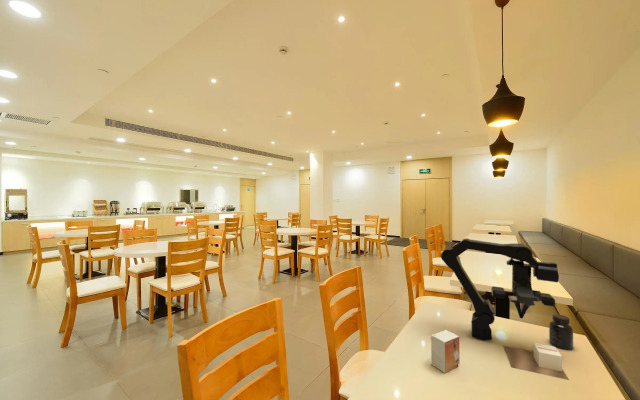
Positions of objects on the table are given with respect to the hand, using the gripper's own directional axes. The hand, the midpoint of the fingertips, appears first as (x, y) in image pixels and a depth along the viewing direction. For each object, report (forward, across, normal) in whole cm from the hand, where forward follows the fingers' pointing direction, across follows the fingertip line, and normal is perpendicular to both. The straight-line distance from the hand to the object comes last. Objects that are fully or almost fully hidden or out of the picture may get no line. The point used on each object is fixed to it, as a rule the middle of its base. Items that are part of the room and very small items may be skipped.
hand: (521, 317), depth 100 cm
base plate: (+12, +2, -9) cm, 15 cm away
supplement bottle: (+12, +14, +7) cm, 20 cm away
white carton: (+11, +6, -9) cm, 15 cm away
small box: (+12, -25, -23) cm, 36 cm away
